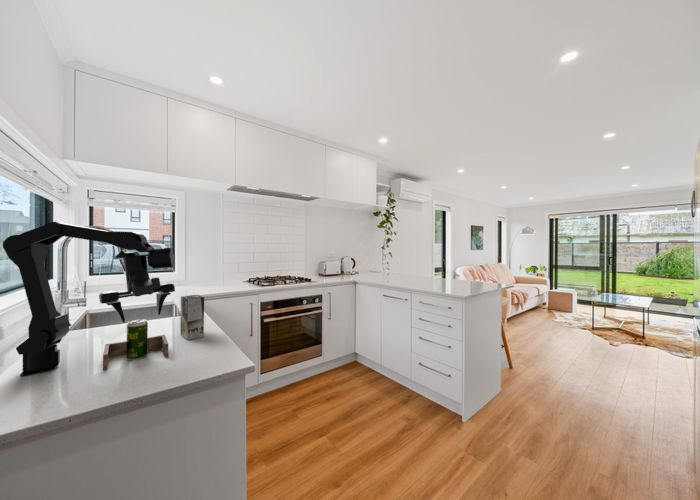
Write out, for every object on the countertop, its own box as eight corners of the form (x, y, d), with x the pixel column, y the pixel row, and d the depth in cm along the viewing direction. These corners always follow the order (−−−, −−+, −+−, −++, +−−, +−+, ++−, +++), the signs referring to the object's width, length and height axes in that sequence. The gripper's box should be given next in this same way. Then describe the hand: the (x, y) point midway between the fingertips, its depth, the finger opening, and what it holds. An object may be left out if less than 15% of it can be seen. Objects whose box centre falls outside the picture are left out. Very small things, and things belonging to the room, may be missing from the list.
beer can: (134, 354, 91) (135, 318, 90) (151, 354, 91) (151, 319, 91) (121, 361, 85) (122, 323, 85) (139, 361, 85) (139, 323, 85)
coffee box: (204, 336, 109) (205, 297, 109) (186, 340, 105) (187, 299, 105) (196, 331, 116) (197, 294, 116) (179, 334, 111) (180, 296, 111)
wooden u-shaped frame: (102, 369, 79) (103, 355, 79) (105, 357, 87) (105, 344, 87) (168, 356, 89) (168, 343, 89) (164, 346, 98) (164, 334, 98)
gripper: (100, 276, 74) (107, 331, 75) (177, 267, 88) (182, 314, 89) (96, 274, 82) (102, 325, 83) (167, 267, 96) (172, 310, 96)
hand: (141, 318), depth 87 cm, fingers open, 9 cm apart
